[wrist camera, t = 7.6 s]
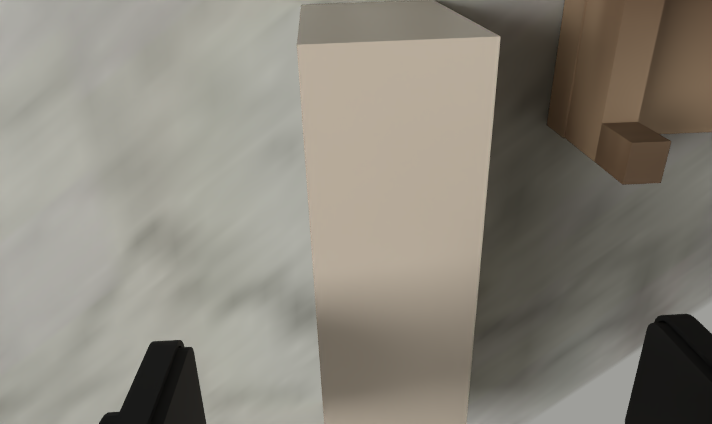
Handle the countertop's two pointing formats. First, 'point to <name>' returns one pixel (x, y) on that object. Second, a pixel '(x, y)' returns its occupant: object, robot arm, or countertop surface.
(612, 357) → the countertop surface
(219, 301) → the countertop surface
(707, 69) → the rack
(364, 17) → the clay bar
